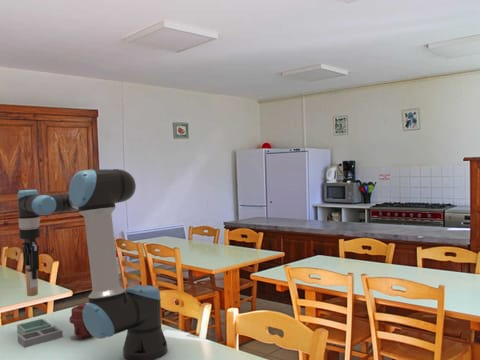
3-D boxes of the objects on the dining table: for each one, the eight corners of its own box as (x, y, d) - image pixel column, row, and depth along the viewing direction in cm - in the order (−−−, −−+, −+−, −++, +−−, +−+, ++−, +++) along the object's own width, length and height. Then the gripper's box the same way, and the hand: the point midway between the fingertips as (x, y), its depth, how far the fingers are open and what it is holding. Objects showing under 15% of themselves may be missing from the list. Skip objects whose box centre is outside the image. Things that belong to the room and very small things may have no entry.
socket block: (62, 336, 175) (62, 330, 175) (24, 347, 166) (24, 340, 166) (55, 331, 181) (55, 325, 181) (17, 341, 172) (17, 335, 172)
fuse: (39, 294, 182) (38, 265, 181) (28, 296, 179) (27, 266, 178) (36, 292, 185) (34, 263, 184) (25, 295, 182) (24, 265, 182)
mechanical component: (102, 332, 179) (89, 342, 169) (79, 331, 181) (65, 341, 171) (101, 301, 178) (87, 309, 169) (78, 301, 180) (63, 308, 171)
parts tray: (51, 331, 182) (51, 324, 182) (25, 338, 175) (24, 330, 175) (42, 325, 189) (42, 318, 189) (17, 332, 182) (17, 324, 182)
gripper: (46, 228, 177) (49, 287, 178) (32, 225, 190) (34, 280, 190) (26, 231, 172) (29, 291, 173) (13, 227, 185) (15, 284, 185)
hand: (32, 285), depth 182 cm, fingers closed on fuse, 4 cm apart
